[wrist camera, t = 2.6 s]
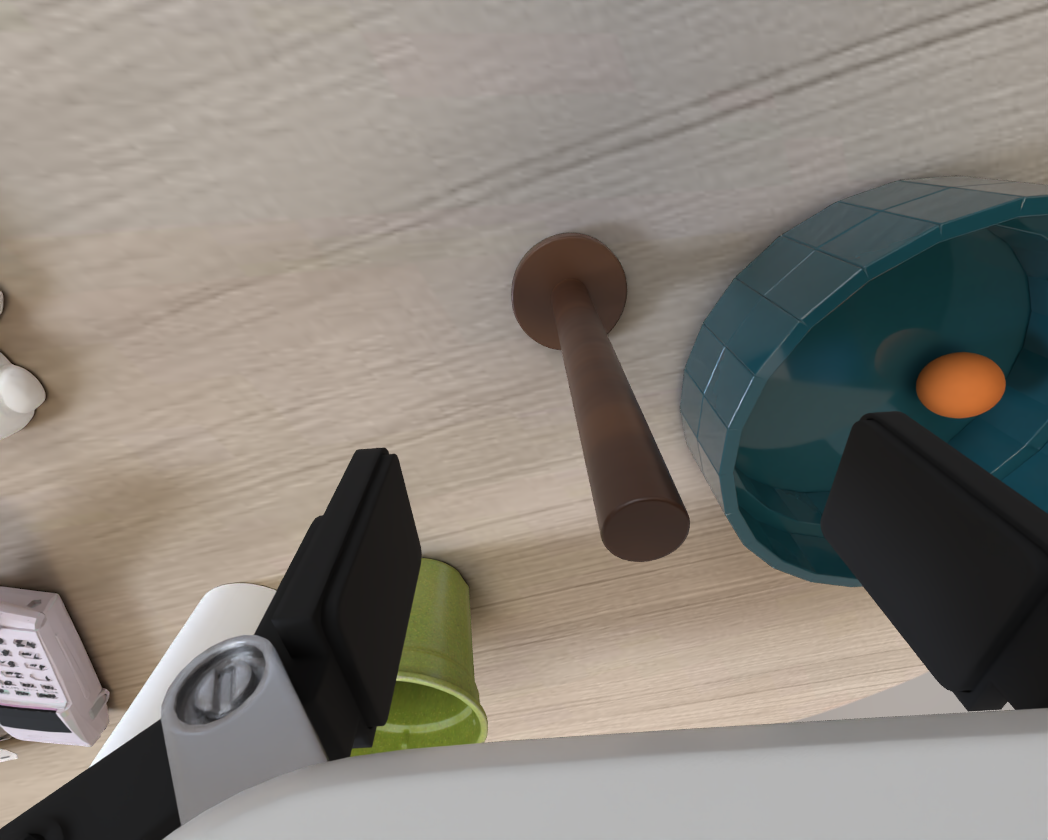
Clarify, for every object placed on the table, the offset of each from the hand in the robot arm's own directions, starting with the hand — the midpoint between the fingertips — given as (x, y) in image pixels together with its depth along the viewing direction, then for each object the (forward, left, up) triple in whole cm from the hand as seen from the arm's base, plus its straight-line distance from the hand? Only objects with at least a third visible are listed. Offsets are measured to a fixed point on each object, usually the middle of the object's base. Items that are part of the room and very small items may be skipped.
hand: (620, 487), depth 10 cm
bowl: (+5, +14, -13) cm, 20 cm away
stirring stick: (0, 0, -13) cm, 13 cm away
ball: (+5, +18, -11) cm, 21 cm away
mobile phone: (+21, -37, -13) cm, 44 cm away
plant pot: (+19, -10, -13) cm, 25 cm away
